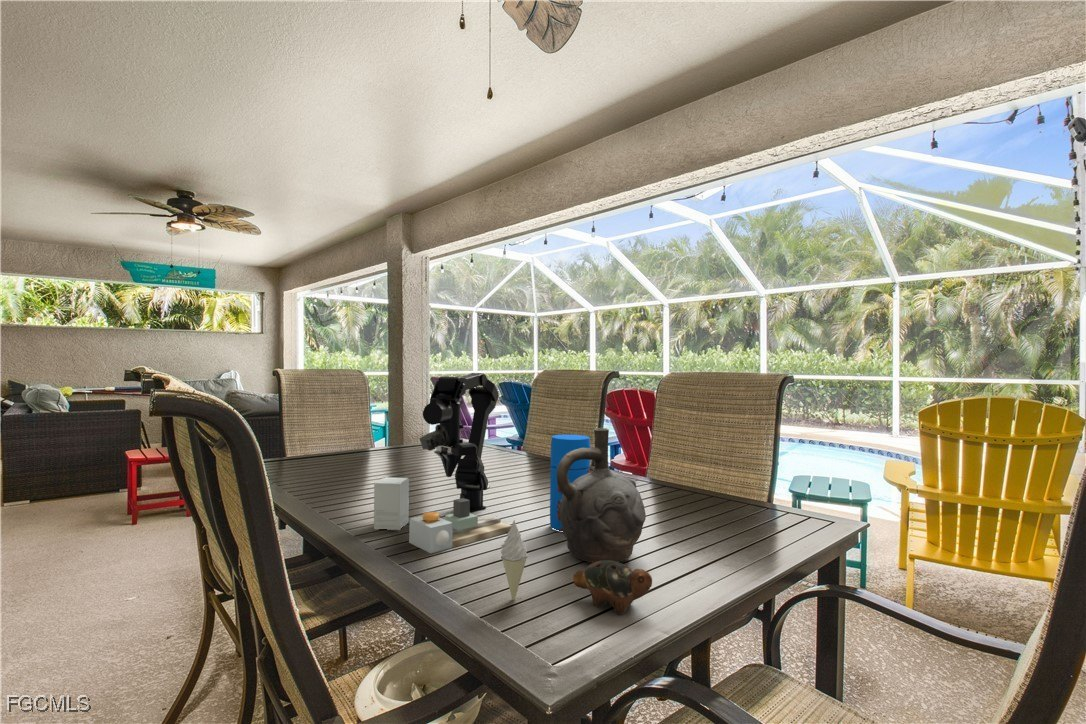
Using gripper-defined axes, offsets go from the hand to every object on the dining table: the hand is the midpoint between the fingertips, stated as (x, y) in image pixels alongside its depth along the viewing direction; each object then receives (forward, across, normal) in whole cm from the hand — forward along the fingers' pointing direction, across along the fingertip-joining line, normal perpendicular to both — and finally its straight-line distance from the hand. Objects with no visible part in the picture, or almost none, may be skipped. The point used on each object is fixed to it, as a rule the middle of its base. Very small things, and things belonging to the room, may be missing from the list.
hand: (448, 476), depth 144 cm
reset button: (+9, +12, -13) cm, 20 cm away
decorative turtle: (+13, +62, -5) cm, 64 cm away
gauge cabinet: (+13, +12, -13) cm, 22 cm away
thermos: (+13, +25, +23) cm, 36 cm away
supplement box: (+13, -8, -13) cm, 20 cm away
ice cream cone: (+13, +48, -17) cm, 53 cm away
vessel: (+13, +44, +12) cm, 48 cm away
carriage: (+10, +12, -4) cm, 16 cm away
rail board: (+13, +12, 0) cm, 18 cm away
